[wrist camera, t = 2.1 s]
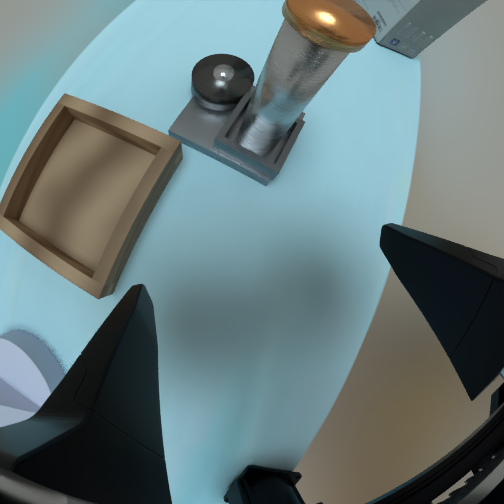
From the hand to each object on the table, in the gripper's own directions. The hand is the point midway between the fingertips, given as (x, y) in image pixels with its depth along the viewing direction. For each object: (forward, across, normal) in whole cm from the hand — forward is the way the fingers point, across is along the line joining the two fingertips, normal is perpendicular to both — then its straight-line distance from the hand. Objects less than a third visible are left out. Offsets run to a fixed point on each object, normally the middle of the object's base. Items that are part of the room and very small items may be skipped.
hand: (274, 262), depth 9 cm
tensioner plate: (+17, -2, -3) cm, 17 cm away
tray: (+14, +11, -1) cm, 18 cm away
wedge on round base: (+4, +24, +12) cm, 27 cm away
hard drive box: (+29, -30, -18) cm, 45 cm away
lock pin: (+14, -3, -2) cm, 15 cm away
